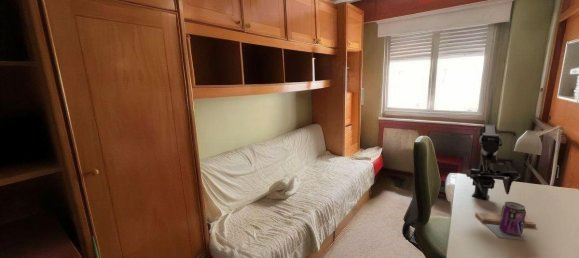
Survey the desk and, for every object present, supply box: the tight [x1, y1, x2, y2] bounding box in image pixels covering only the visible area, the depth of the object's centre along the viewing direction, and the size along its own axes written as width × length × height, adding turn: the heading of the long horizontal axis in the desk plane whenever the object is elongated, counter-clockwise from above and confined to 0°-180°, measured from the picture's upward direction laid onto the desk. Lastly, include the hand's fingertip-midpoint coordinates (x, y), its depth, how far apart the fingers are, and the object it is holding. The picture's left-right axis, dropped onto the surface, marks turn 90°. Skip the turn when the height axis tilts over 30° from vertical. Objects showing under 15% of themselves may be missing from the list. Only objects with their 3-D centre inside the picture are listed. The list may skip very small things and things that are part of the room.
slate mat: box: [485, 223, 526, 241], centre depth 102 cm, size 9×9×1 cm
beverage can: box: [499, 201, 527, 236], centre depth 101 cm, size 7×7×12 cm
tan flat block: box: [474, 212, 537, 228], centre depth 110 cm, size 20×6×2 cm, turn 79°
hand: (495, 193), depth 110 cm, fingers open, 9 cm apart
